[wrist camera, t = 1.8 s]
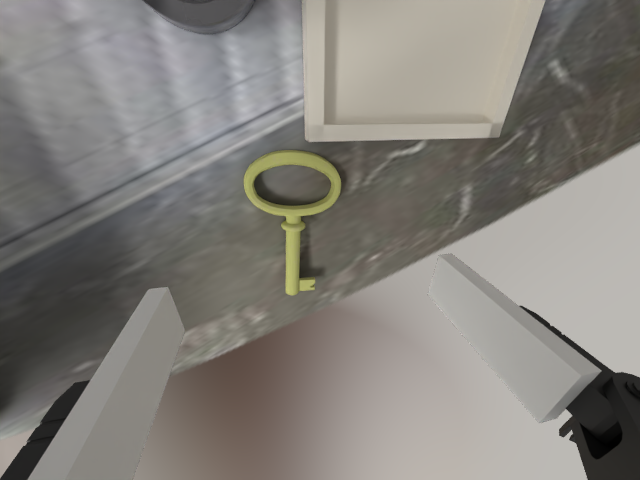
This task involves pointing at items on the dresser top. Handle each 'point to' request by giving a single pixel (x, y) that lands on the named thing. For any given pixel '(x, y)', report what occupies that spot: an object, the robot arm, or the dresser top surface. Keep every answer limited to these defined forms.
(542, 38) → the dresser top surface
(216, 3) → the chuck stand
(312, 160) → the key
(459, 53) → the tray
